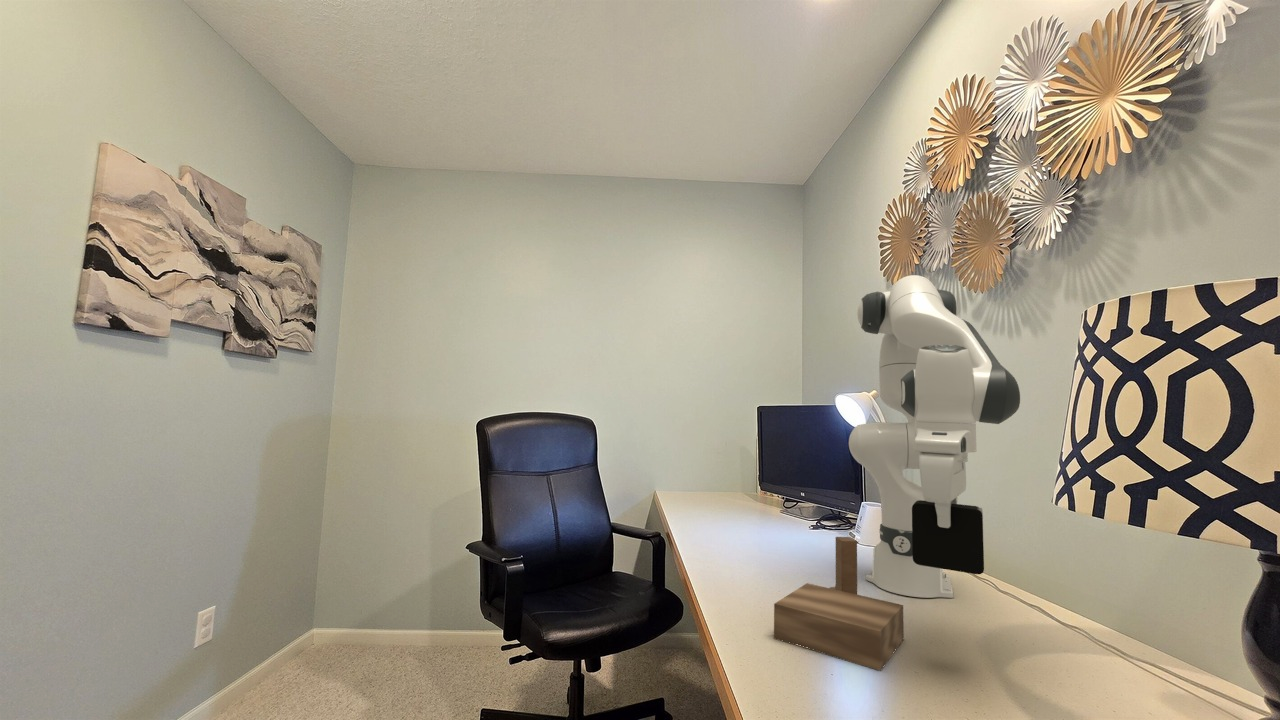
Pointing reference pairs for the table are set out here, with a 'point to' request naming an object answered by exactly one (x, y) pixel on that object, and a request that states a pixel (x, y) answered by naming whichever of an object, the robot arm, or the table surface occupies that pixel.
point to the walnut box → (840, 624)
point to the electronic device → (948, 538)
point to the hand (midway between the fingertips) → (947, 524)
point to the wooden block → (846, 565)
